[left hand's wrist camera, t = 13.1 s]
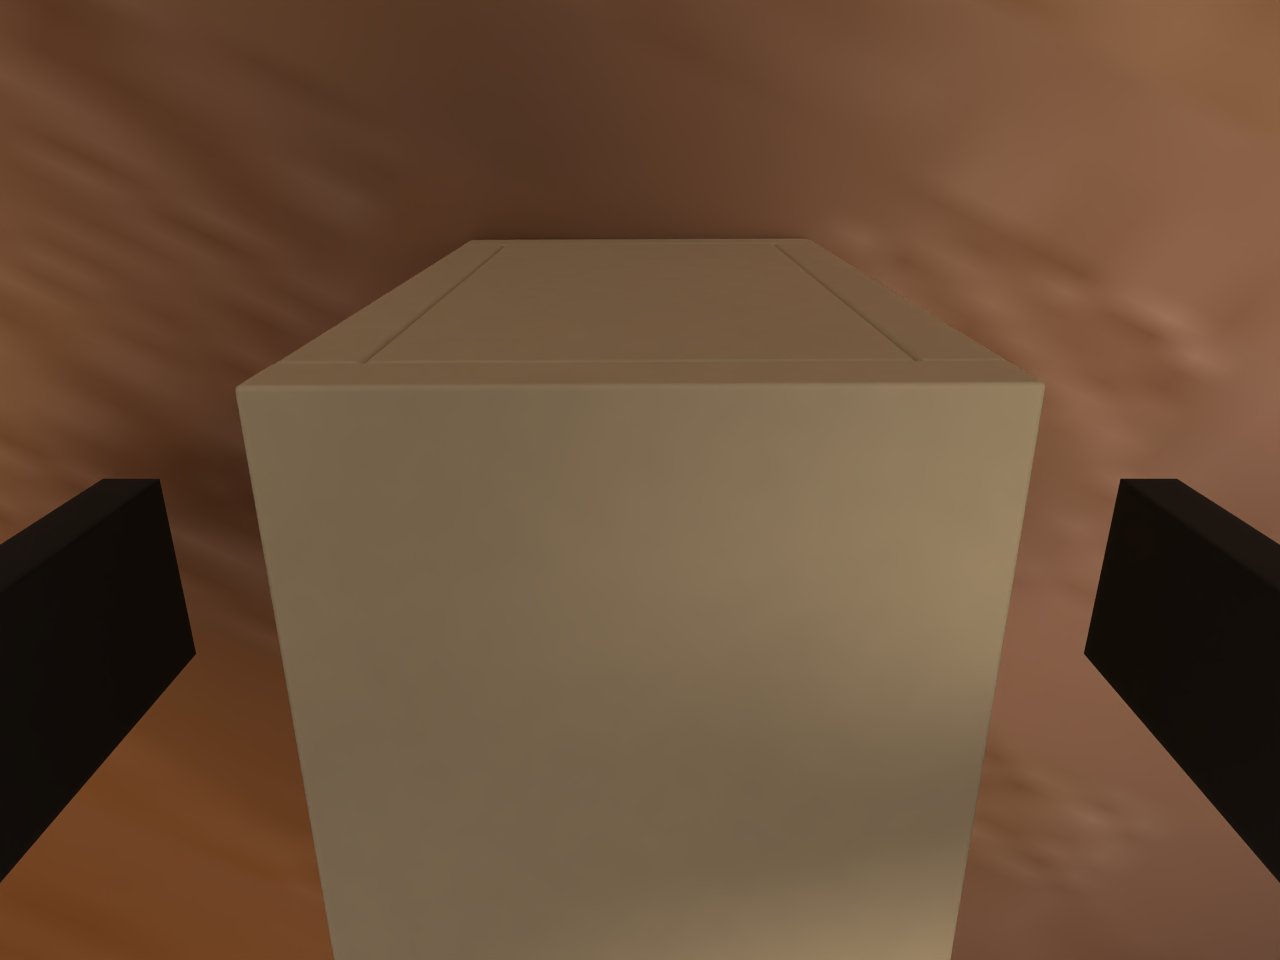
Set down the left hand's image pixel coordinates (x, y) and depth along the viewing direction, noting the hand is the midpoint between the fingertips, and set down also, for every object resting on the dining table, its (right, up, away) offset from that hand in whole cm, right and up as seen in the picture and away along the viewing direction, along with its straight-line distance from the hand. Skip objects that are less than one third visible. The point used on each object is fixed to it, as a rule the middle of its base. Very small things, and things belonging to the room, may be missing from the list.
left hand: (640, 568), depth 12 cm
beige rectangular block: (0, -2, +8) cm, 8 cm away
